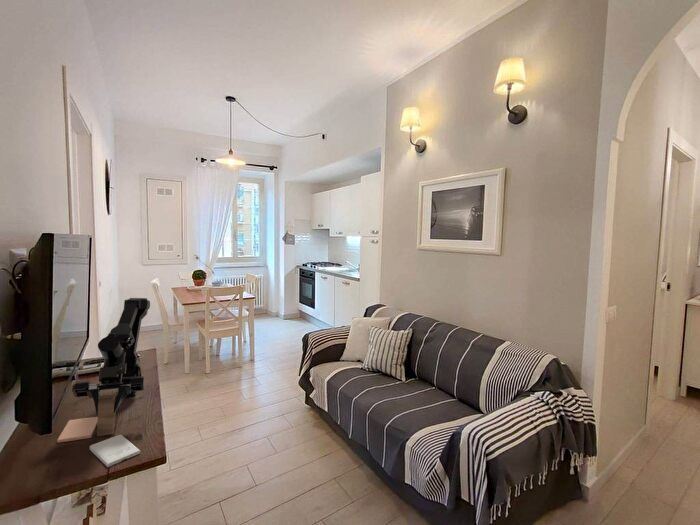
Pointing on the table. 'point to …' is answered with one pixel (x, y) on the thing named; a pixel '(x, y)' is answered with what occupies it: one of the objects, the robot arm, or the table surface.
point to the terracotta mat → (78, 429)
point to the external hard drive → (114, 450)
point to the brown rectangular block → (106, 415)
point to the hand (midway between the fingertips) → (106, 413)
